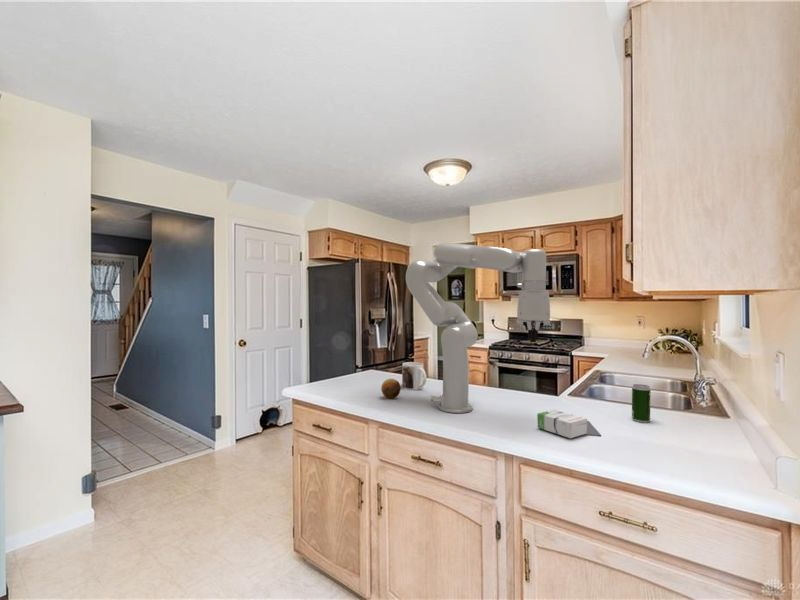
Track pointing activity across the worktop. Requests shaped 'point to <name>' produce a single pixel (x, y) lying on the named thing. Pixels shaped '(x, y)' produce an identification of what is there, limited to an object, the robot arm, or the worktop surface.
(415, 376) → the mug
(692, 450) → the worktop surface
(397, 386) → the fruit
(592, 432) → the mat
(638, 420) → the beer can
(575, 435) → the ink box
